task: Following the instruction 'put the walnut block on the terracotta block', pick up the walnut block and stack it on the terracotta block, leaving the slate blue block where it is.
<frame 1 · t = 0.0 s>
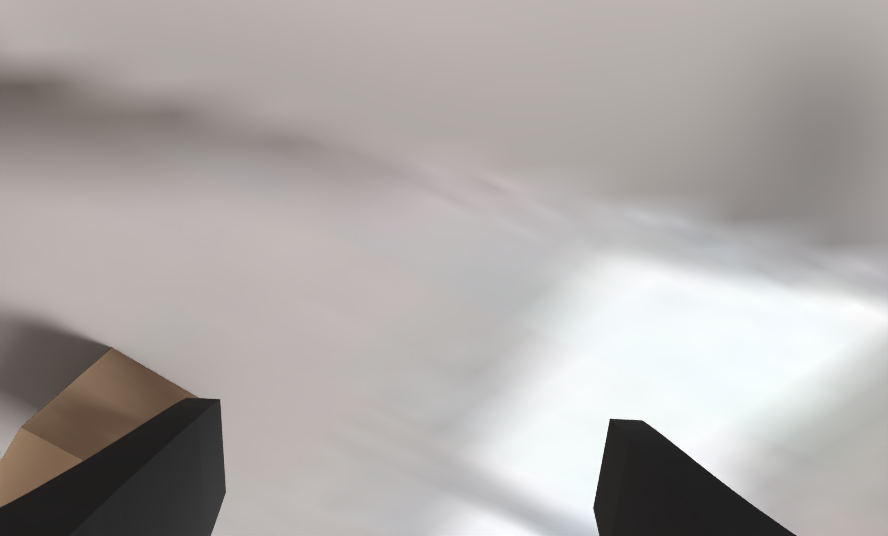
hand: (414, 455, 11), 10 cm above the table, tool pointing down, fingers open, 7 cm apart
walnut brick: (137, 413, 22), on the table
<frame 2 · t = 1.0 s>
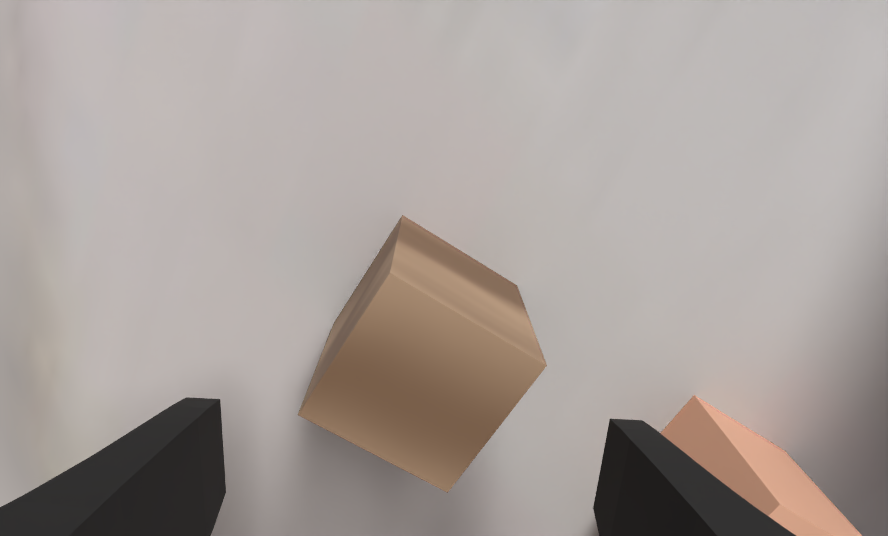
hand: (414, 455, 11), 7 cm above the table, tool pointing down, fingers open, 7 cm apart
walnut brick: (424, 303, 18), on the table
terracotta brick: (699, 466, 20), on the table
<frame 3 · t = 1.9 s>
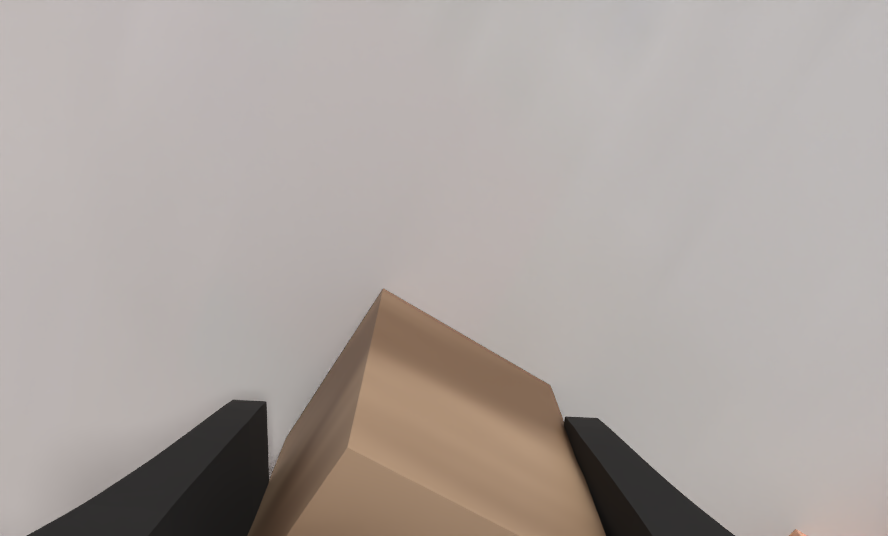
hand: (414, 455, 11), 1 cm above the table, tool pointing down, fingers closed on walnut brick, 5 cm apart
walnut brick: (416, 412, 12), on the table, touching gripper
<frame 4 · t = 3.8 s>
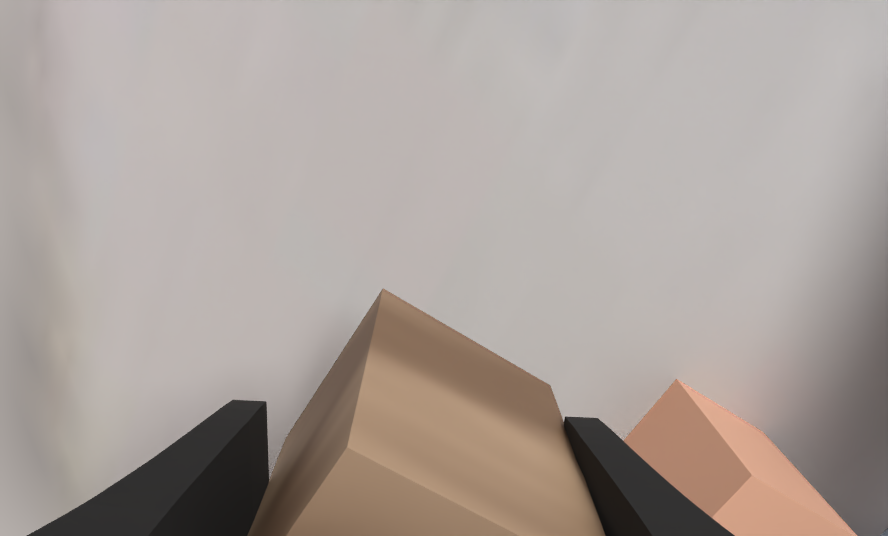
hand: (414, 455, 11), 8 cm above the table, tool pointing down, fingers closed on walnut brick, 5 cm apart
walnut brick: (416, 412, 12), point 7 cm above the table, touching gripper
terracotta brick: (682, 447, 21), on the table
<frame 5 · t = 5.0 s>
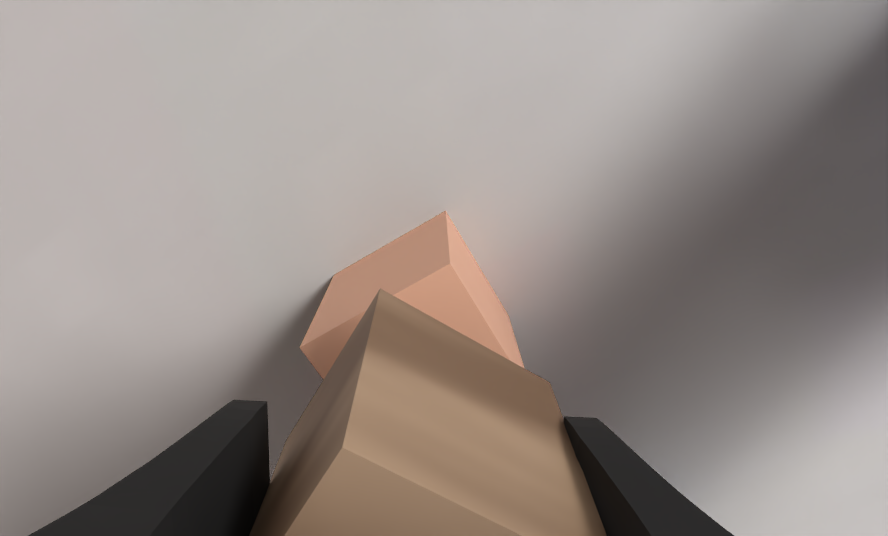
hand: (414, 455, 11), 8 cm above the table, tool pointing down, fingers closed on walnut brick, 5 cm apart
walnut brick: (416, 411, 12), point 7 cm above the table, touching gripper
terracotta brick: (422, 295, 18), on the table
when the fingers open (7 cm above the table, at t = 5.7 s): walnut brick drops 1 cm, resting on terracotta brick.
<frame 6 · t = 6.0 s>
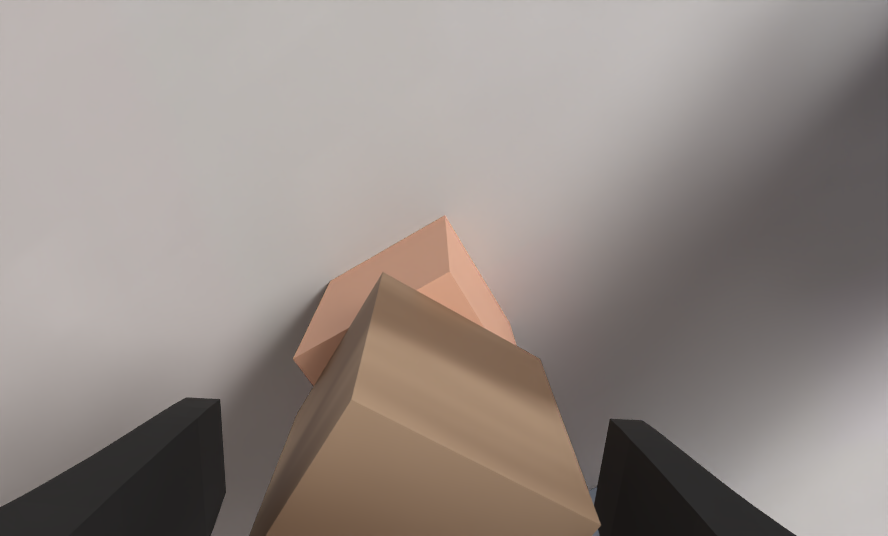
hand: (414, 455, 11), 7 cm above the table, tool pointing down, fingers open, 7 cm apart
walnut brick: (416, 386, 13), point 5 cm above the table, touching terracotta brick
terracotta brick: (421, 302, 18), on the table, touching walnut brick
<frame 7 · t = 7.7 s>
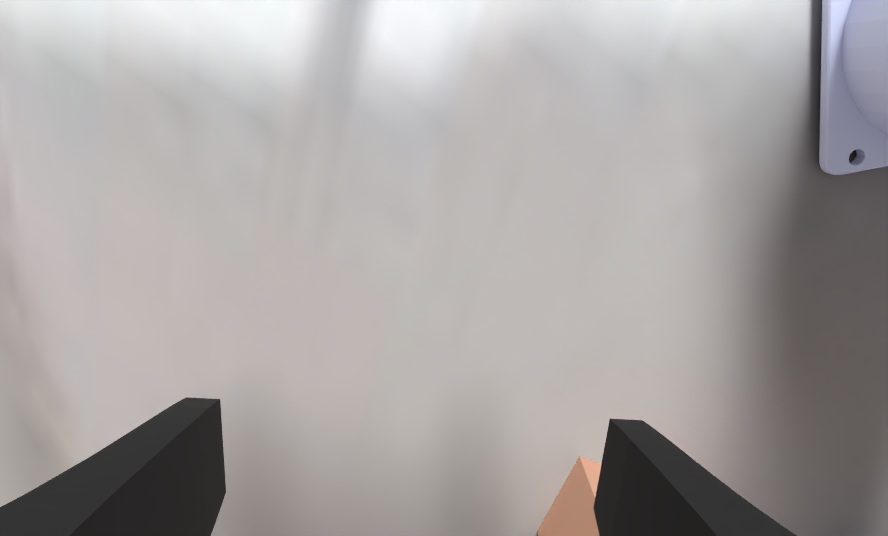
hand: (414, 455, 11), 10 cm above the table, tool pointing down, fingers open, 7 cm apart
terracotta brick: (601, 508, 24), on the table, touching walnut brick
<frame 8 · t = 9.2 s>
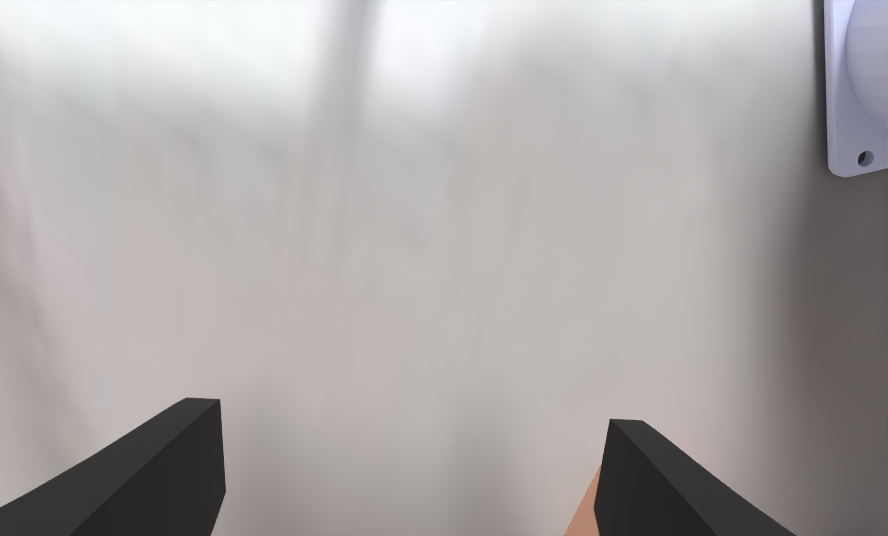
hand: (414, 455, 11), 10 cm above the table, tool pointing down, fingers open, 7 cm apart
terracotta brick: (624, 515, 24), on the table, touching walnut brick
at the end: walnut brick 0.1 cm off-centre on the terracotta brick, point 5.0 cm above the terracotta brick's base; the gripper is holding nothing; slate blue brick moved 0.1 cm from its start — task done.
